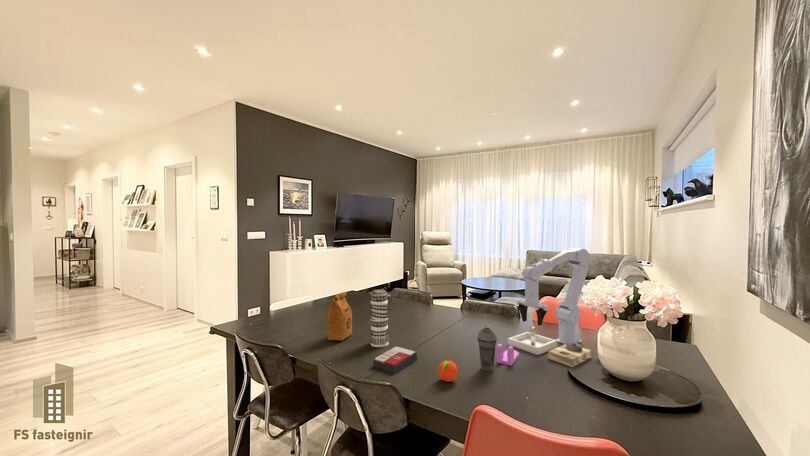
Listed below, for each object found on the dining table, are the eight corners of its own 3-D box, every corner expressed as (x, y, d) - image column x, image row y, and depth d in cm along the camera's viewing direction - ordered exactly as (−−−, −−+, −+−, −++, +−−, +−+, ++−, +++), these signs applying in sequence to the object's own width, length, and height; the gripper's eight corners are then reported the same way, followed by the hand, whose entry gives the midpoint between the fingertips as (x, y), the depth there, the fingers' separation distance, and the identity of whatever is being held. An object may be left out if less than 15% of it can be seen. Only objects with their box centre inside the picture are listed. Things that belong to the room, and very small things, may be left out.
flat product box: (372, 358, 127) (395, 344, 139) (373, 369, 127) (396, 354, 139) (394, 365, 121) (416, 350, 133) (395, 376, 121) (417, 360, 133)
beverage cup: (486, 374, 119) (486, 320, 119) (473, 367, 125) (473, 315, 125) (501, 370, 122) (500, 317, 122) (488, 363, 129) (487, 313, 129)
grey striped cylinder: (366, 345, 149) (365, 291, 149) (375, 339, 158) (374, 288, 157) (384, 348, 146) (383, 293, 145) (392, 341, 154) (391, 289, 154)
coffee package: (355, 334, 165) (355, 291, 165) (342, 343, 153) (342, 296, 153) (338, 332, 168) (338, 290, 168) (324, 340, 156) (324, 295, 156)
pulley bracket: (567, 350, 141) (566, 337, 141) (591, 357, 133) (591, 344, 133) (548, 358, 132) (548, 345, 132) (572, 367, 124) (572, 352, 124)
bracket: (511, 366, 126) (510, 348, 126) (497, 362, 130) (496, 345, 130) (520, 355, 137) (520, 338, 137) (507, 352, 140) (507, 336, 140)
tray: (527, 337, 157) (527, 331, 157) (557, 347, 145) (557, 340, 145) (508, 344, 148) (508, 338, 148) (538, 355, 136) (538, 348, 136)
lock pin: (532, 343, 148) (531, 326, 148) (537, 345, 146) (537, 327, 146) (528, 344, 146) (528, 327, 146) (534, 346, 144) (534, 328, 144)
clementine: (452, 388, 109) (451, 367, 109) (433, 383, 113) (433, 363, 113) (461, 379, 116) (460, 359, 116) (443, 374, 120) (443, 355, 120)
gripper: (512, 291, 150) (512, 321, 150) (541, 297, 138) (542, 328, 138) (521, 289, 154) (522, 318, 154) (550, 294, 142) (551, 325, 142)
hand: (532, 323), depth 147 cm, fingers open, 7 cm apart
